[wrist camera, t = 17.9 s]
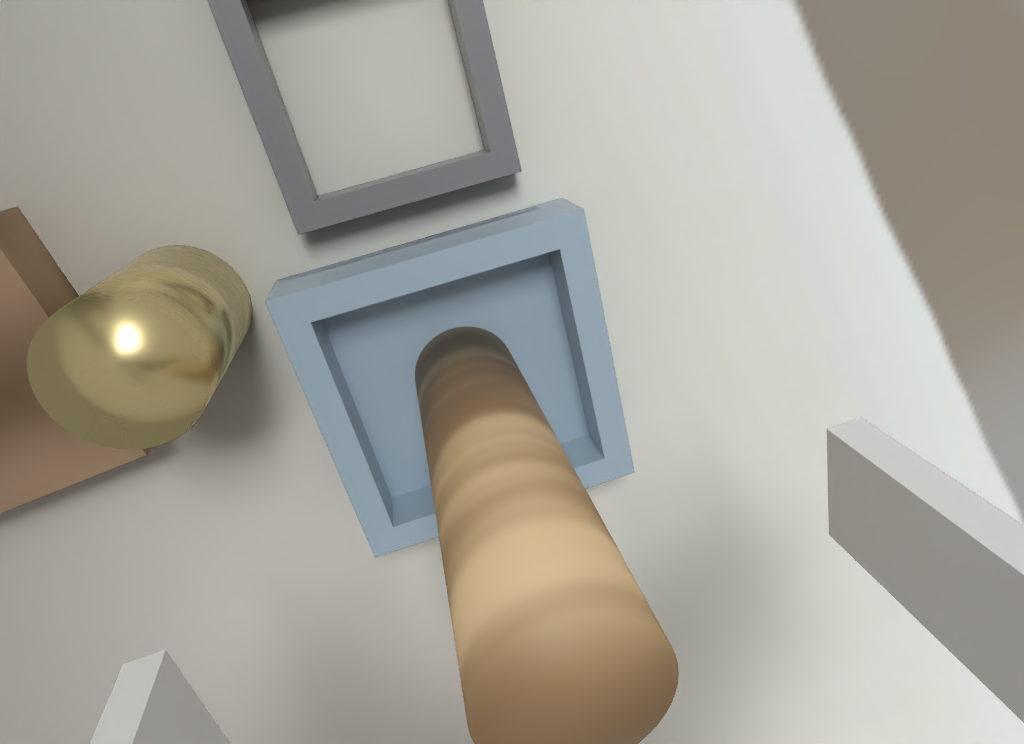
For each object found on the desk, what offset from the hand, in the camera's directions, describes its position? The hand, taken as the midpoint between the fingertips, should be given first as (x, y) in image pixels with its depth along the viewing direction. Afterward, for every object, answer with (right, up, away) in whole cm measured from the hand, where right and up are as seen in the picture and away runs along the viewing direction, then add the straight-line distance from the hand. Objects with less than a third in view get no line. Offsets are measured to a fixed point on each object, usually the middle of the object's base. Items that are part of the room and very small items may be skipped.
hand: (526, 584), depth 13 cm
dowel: (-2, +4, +11) cm, 12 cm away
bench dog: (-11, +6, +9) cm, 15 cm away
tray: (-2, +4, +11) cm, 12 cm away
